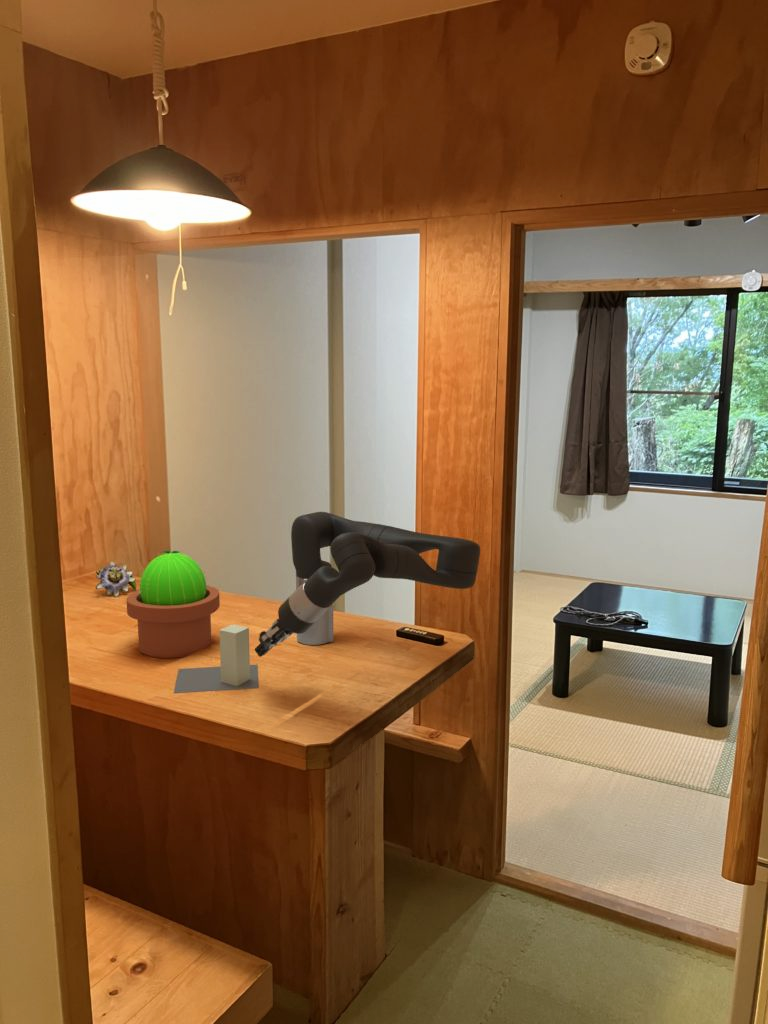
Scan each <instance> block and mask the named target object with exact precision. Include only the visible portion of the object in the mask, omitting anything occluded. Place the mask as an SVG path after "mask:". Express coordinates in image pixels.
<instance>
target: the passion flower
mask: <svg viewBox="0 0 768 1024" xmlns="http://www.w3.org/2000/svg"><path fill="white" fill-rule="evenodd" d="M126 569H127V564H124V565H121V566H119V565H117V564H115V562H114V561H110V562H109V564H108V565H107V566H106V567H104V568H98V570H95V574H96V576H95V578H96V579H99V580H100V582H99V583H97V585H96V586H95V589H96V590H100V589H103V588H104V589H105V593H106V595H107V596H109V595H113V596H114V598H117V597H118V596H119V594H120V591H121V590H122V591H124V592H127V593H128V591H129V587H128V585H129V586H130V587H131V588H132V589H133V591H137V583H136V580H137V579H136V578H135V577H134V576H133V571H127V570H126Z"/></svg>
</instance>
